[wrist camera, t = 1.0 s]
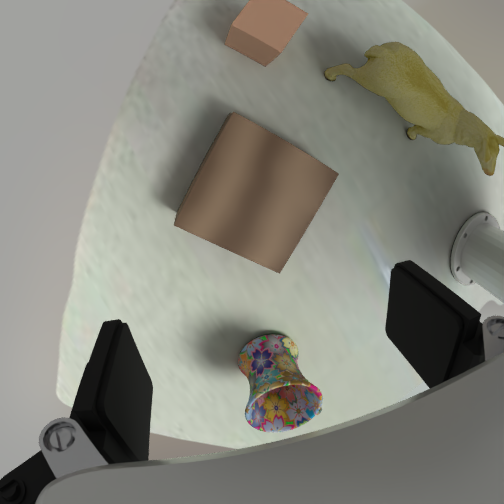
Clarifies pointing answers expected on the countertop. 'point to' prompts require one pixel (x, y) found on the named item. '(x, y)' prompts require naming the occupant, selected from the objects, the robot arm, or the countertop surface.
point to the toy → (422, 100)
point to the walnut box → (254, 193)
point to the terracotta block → (264, 29)
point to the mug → (277, 385)
